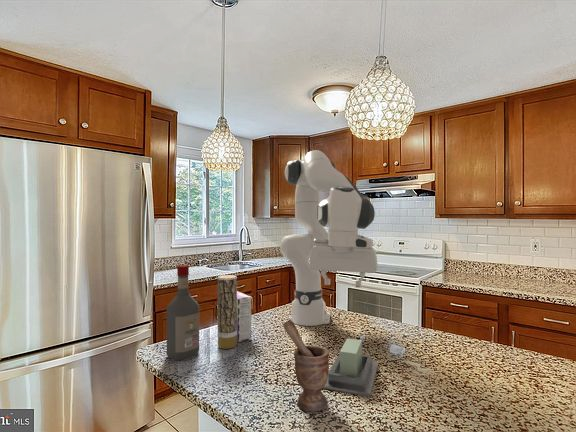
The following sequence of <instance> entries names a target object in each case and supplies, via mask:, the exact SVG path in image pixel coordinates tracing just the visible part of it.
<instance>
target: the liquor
mask: <svg viewBox="0 0 576 432" xmlns="http://www.w3.org/2000/svg"><path fill="white" fill-rule="evenodd" d="M176 268H177V272H176V273H177V292H176V294H175V295H176V296H174V298H173V299H172V300H171V301H170V302H169V303H168V305H167V307H166V356H167V357H168V358H169V359H171V360H173V361H175V362H178V361H179V362H184V361H187V360H189V359H192V358H195V357H197V356H198V354H199V352H200V305H199V303H198V301H197V300H195V298H194V297H193V296H192V295H191V294H190V291H189V275H190V274H189V272H190V269H189V265H186V264H184V265H183V264H182V265H177V266H176Z"/></svg>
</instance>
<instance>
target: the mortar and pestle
mask: <svg viewBox="0 0 576 432" xmlns="http://www.w3.org/2000/svg"><path fill="white" fill-rule="evenodd" d="M282 326H283V328H284V330H285V332H286V334H287V336H288V337H289V338H290V339H291V341H292V342H293V343H294V346H295V347H296V348H295V349H294V352H293V354H294V355H293V357H294V371H295V372H294V373H295V377H296V380H297V384H298V385H299V386H300V387H301V388H302V390H303V391H301V393H300V394H299V396H298V398H297V406H298V407H299V408H300V409H302V410H304V411H306V412H318V411H319V412H320V411H325V410H326V409H327V407H328V401H327V397H326V395H325V394H324V392H322V390H323V387H324V385H325V384H326V382H327V378H328V372H329V370H330V366H329V365H330V363H329V361H330V360H329V359H330V358H329V357H330V353H329V350H328V349H327V348H326V347H324V346H321V345H315V344H314V345H305V342H304V341H303V339H302V337H301V335H300V332H299V331H298V328H297V327H296V324H295V323H293V322H292V321H291V320H289V319H288V320H287V321H285V322H283V324H282Z"/></svg>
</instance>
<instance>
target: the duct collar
mask: <svg viewBox="0 0 576 432" xmlns="http://www.w3.org/2000/svg"><path fill="white" fill-rule="evenodd" d="M378 366H379V362H375V361H373V355H366V354H362V368H361V371H360V374H359V377H357V376H351V375H344V374H340V353H339V354H338V356H337V357H335V359H334V362H333V363H332V365H331V366H330V368H329V372H328V378H327V382H326V384H325V385H324V387H323V388H322V390H323V389H324V390H329V391H334V392H341V393H346V394H353V395H358V396H363V397H368V398H369V397H370V398H371V396H372V392H373V387H374V383H375V379H376V375H377V371H378Z"/></svg>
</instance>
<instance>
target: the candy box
mask: <svg viewBox="0 0 576 432" xmlns="http://www.w3.org/2000/svg"><path fill="white" fill-rule="evenodd" d="M250 340H252V296H251V295H247V294H245V293H243V292H240V291H238V290H237V343H240V342H245V341H246V342H247V341H250Z"/></svg>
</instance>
